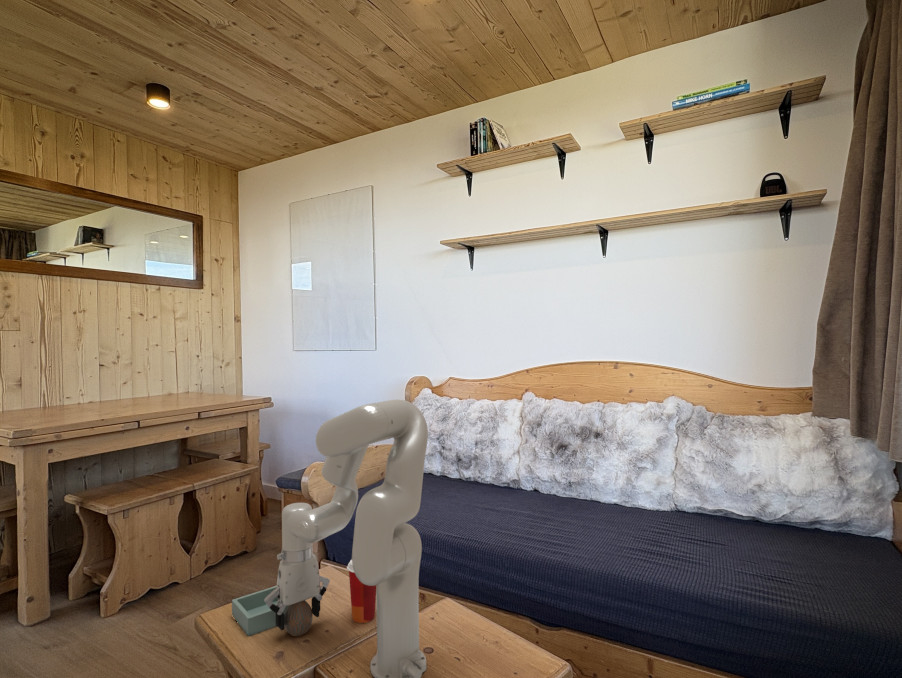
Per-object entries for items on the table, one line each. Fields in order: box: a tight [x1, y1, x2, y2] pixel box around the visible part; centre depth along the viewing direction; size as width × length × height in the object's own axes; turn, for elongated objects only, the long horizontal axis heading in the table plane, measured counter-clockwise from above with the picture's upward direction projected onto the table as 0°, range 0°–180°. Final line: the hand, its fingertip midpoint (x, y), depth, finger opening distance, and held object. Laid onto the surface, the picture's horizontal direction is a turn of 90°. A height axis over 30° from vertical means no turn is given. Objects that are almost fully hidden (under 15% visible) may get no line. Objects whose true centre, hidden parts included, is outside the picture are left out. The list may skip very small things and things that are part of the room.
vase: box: [285, 600, 314, 637], centre depth 130 cm, size 7×7×9 cm
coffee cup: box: [346, 559, 377, 624], centre depth 136 cm, size 8×8×15 cm
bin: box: [231, 585, 289, 638], centre depth 137 cm, size 13×13×4 cm
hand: (298, 621), depth 130 cm, fingers open, 8 cm apart
